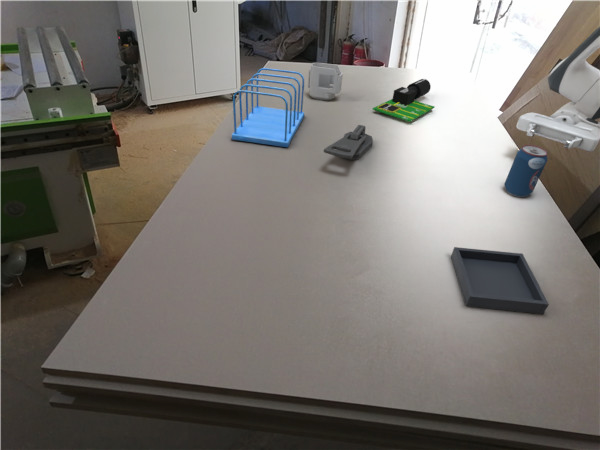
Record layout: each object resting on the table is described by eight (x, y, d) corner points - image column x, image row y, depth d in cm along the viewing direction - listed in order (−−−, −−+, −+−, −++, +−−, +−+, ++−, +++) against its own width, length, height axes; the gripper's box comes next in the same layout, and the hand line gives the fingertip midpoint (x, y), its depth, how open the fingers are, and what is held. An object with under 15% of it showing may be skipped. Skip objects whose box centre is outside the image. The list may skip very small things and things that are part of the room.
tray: (517, 263, 83) (522, 253, 81) (543, 314, 72) (549, 304, 70) (450, 256, 84) (454, 246, 82) (465, 306, 73) (470, 296, 71)
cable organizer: (337, 102, 151) (341, 70, 144) (305, 98, 153) (307, 65, 146) (340, 97, 156) (344, 65, 149) (309, 92, 159) (311, 61, 151)
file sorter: (287, 148, 119) (289, 97, 110) (231, 141, 122) (228, 90, 112) (304, 117, 139) (306, 71, 130) (255, 111, 141) (254, 65, 132)
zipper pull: (320, 149, 105) (349, 116, 124) (318, 171, 109) (347, 136, 128) (353, 156, 103) (378, 122, 121) (350, 179, 107) (374, 142, 125)
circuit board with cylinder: (413, 105, 133) (374, 93, 141) (409, 125, 137) (371, 112, 145) (451, 85, 152) (415, 76, 159) (446, 103, 156) (411, 93, 164)
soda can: (530, 201, 102) (550, 159, 95) (501, 194, 104) (519, 152, 97) (531, 188, 107) (550, 147, 100) (503, 182, 109) (520, 141, 102)
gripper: (530, 103, 118) (513, 115, 110) (609, 125, 107) (597, 140, 99) (522, 124, 122) (505, 137, 114) (598, 147, 111) (584, 163, 103)
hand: (548, 139), depth 106 cm, fingers open, 8 cm apart
